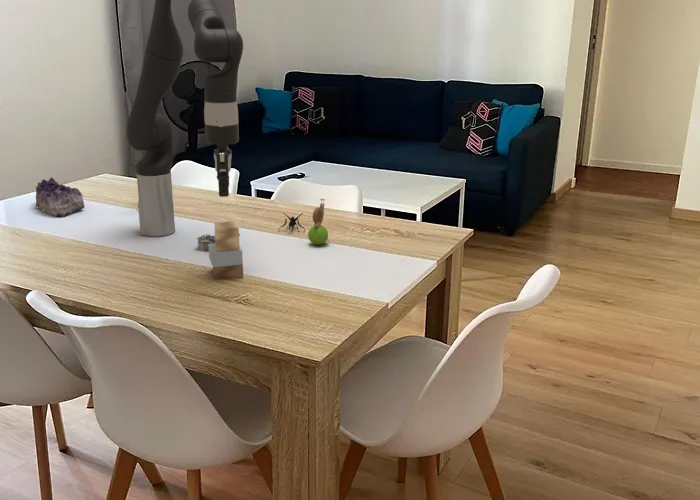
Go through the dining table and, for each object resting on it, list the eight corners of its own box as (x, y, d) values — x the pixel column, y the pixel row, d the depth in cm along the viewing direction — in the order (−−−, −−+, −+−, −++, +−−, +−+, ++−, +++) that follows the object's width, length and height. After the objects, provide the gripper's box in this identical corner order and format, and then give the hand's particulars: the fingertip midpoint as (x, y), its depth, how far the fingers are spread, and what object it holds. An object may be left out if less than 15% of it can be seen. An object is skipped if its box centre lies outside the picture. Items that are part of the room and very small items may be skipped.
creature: (304, 238, 206) (306, 224, 212) (303, 222, 203) (306, 208, 210) (277, 237, 206) (280, 224, 213) (276, 221, 203) (279, 208, 210)
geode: (21, 208, 229) (20, 176, 227) (56, 206, 238) (56, 175, 236) (53, 218, 216) (53, 184, 214) (89, 215, 225) (89, 183, 223)
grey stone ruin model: (242, 247, 195) (241, 233, 194) (228, 255, 189) (228, 241, 187) (208, 242, 198) (207, 228, 197) (194, 250, 192) (193, 236, 191)
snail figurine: (332, 241, 199) (332, 199, 196) (323, 248, 194) (323, 205, 190) (313, 239, 201) (313, 197, 197) (305, 246, 195) (304, 203, 191)
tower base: (213, 280, 172) (212, 266, 170) (213, 270, 178) (212, 256, 177) (243, 278, 173) (242, 265, 172) (242, 268, 179) (241, 255, 178)
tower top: (212, 267, 170) (212, 253, 169) (209, 257, 176) (208, 244, 175) (242, 264, 172) (242, 250, 171) (237, 255, 178) (237, 241, 177)
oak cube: (215, 251, 170) (214, 229, 168) (215, 244, 175) (214, 222, 173) (239, 250, 171) (238, 228, 169) (238, 243, 176) (237, 221, 174)
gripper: (205, 116, 169) (209, 184, 175) (203, 127, 156) (206, 199, 161) (238, 116, 170) (240, 183, 176) (238, 126, 157) (240, 199, 162)
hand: (224, 191), depth 168 cm, fingers open, 8 cm apart
